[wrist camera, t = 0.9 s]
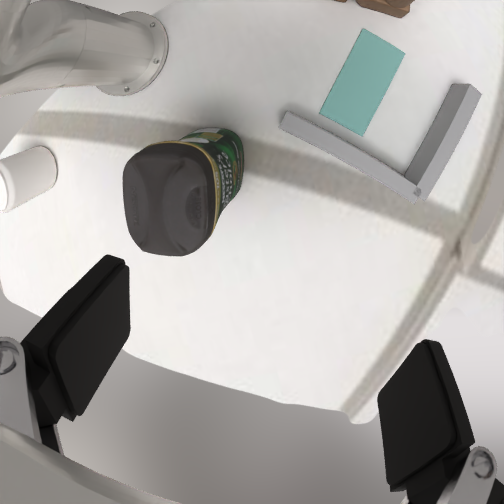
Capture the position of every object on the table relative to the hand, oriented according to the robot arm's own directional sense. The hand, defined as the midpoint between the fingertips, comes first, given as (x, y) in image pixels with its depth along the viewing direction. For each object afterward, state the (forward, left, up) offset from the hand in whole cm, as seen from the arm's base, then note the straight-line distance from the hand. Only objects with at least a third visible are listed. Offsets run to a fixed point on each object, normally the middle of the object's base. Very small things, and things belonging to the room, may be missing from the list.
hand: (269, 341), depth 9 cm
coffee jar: (-8, -5, -32) cm, 34 cm away
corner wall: (+7, +11, -32) cm, 34 cm away
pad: (+4, +13, -32) cm, 35 cm away
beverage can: (-37, -17, -32) cm, 52 cm away
